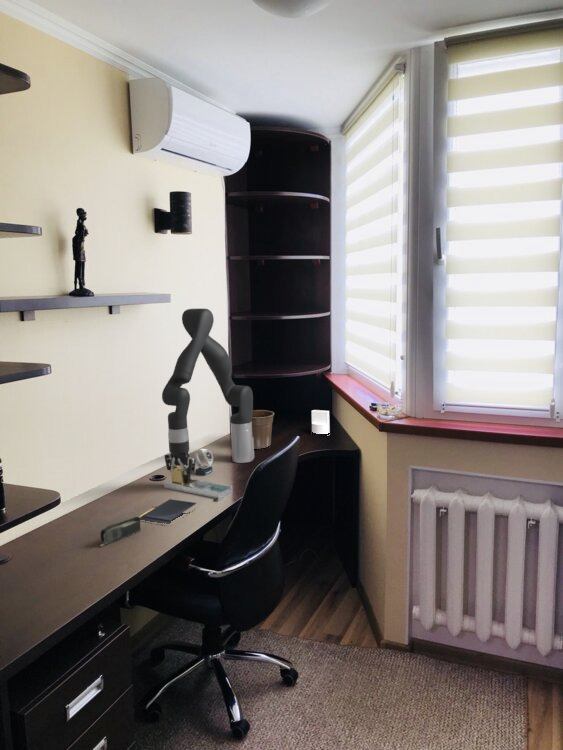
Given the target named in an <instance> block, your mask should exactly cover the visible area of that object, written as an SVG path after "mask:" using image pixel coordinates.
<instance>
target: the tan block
mask: <svg viewBox="0 0 563 750" xmlns="http://www.w3.org/2000/svg"><path fill="white" fill-rule="evenodd" d="M186 470H187V468H186ZM170 473H171V475H170V476H171V481H172V483H176V484H181V485H188V484H185V477H184V475H185V474H184V471H183V470H182V468H181V466H178V467H175V468H173V469H171V471H170ZM190 483H191V482H190ZM190 483H189V484H190Z"/></svg>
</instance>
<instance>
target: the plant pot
mask: <svg viewBox="0 0 563 750" xmlns="http://www.w3.org/2000/svg"><path fill="white" fill-rule="evenodd" d="M274 417H275V412H274V411H270V410H265V409H256V410H255V409H253V414H252V437H253V438H254V449H257V450H259V449H260V450H261V448H266V447H268V446H270V445H271V444H272V430H273V422H274ZM270 447H271V446H270Z"/></svg>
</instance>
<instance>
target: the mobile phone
mask: <svg viewBox="0 0 563 750" xmlns="http://www.w3.org/2000/svg"><path fill="white" fill-rule="evenodd" d="M138 531H139V532H140V531H141V521H140V518H139V516H133V517H131V518H128V519H125V520H122V521H119V522H116V523H111V524H109V525H107V526H106V527H104V528H103V529H101V531H100V540H101V542H102V543H101V544H99V545H98V546H99V547H100V548H101V547H104V546H107V545H109V544H112V543H114V542H117V541H119V539H120V540H122V539H124V537H125V538H127V537H126V536H128V537H130V536H132V535H131V534H133V533H135V534H137V533H136V532H138ZM139 532H138V533H139ZM129 535H130V536H129ZM133 535H134V534H133ZM121 538H122V539H121ZM116 540H117V541H116ZM113 541H114V542H113ZM111 542H112V543H111ZM108 543H109V544H108ZM106 544H107V545H106Z"/></svg>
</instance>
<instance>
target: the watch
mask: <svg viewBox="0 0 563 750" xmlns="http://www.w3.org/2000/svg"><path fill="white" fill-rule="evenodd" d="M200 452H201V454H202V458H203V460H204V461H205V462H206V464H207V465H203V463H202V462H201V460H200V458H199V453H200ZM194 457H195V458H196V462H195V465H196V466H197V467H198V468H195V475H196V476H203V477H205V476H208V475H209V474H211V473H213V466H212V465H213V462H214V455H213V452H212V451H210V450H209V449H206V448H199V449H197V450H195V452H194V454H193V458H194Z"/></svg>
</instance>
